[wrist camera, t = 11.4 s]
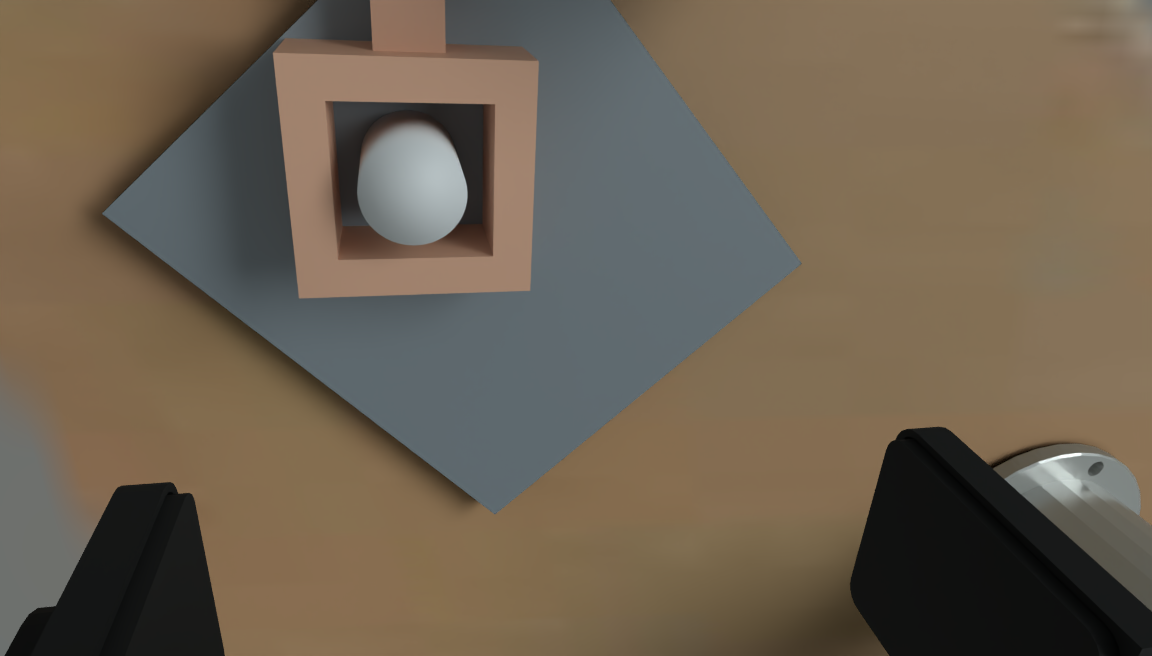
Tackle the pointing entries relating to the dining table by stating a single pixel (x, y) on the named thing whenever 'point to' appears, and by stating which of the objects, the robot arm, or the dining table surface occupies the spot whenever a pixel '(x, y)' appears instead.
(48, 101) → the dining table surface
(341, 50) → the square frame with tab
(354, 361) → the board
